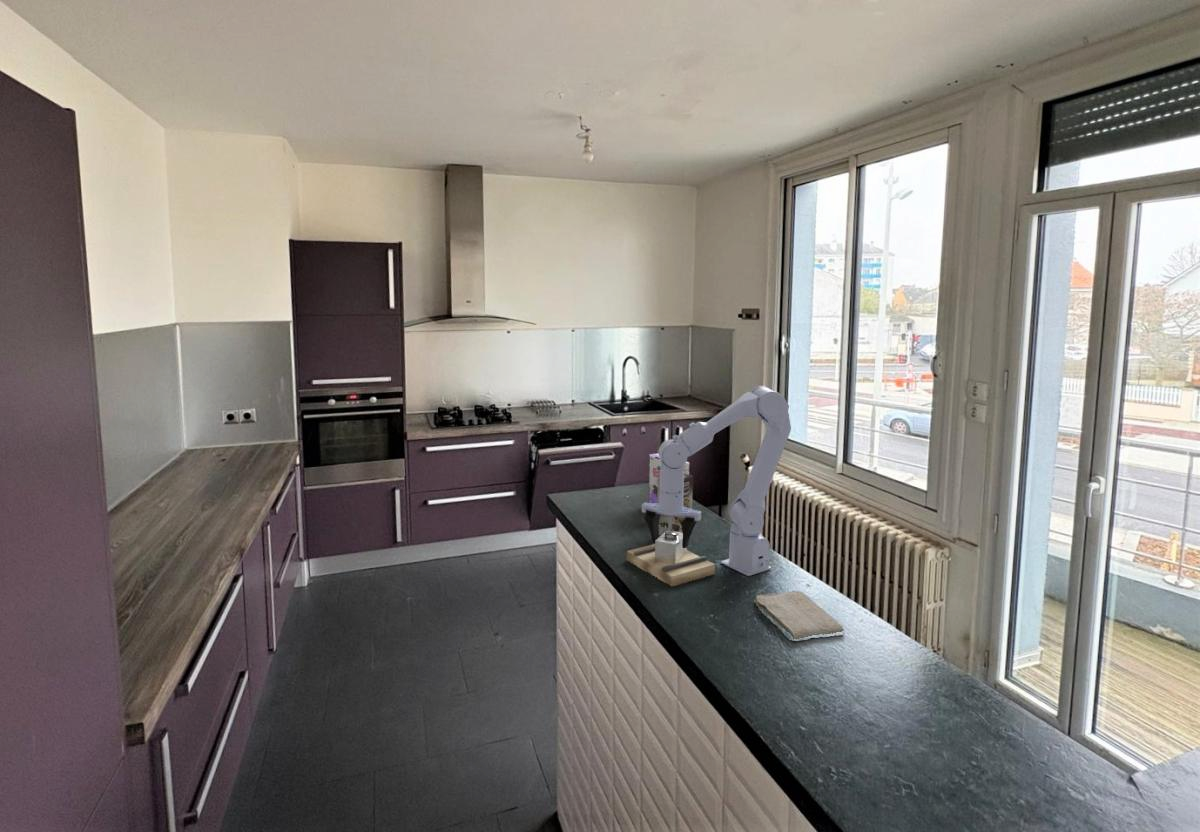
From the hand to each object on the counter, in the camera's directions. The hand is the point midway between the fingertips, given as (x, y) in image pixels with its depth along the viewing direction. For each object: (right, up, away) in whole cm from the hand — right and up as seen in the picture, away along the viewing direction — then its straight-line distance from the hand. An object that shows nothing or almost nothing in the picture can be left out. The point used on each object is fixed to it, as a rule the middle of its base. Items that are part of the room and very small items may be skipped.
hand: (670, 544), depth 168 cm
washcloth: (+24, -12, -24) cm, 36 cm away
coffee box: (+4, -2, +25) cm, 25 cm away
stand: (0, -6, +1) cm, 6 cm away
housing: (0, -3, +1) cm, 3 cm away
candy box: (+4, +2, +44) cm, 44 cm away
